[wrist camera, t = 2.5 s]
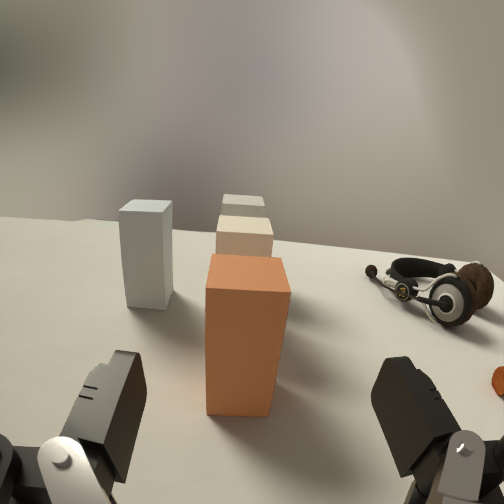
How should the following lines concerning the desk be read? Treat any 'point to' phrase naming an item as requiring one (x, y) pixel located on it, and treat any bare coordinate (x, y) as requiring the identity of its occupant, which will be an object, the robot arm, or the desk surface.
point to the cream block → (244, 236)
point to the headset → (440, 287)
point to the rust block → (244, 333)
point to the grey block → (243, 206)
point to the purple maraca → (498, 380)
